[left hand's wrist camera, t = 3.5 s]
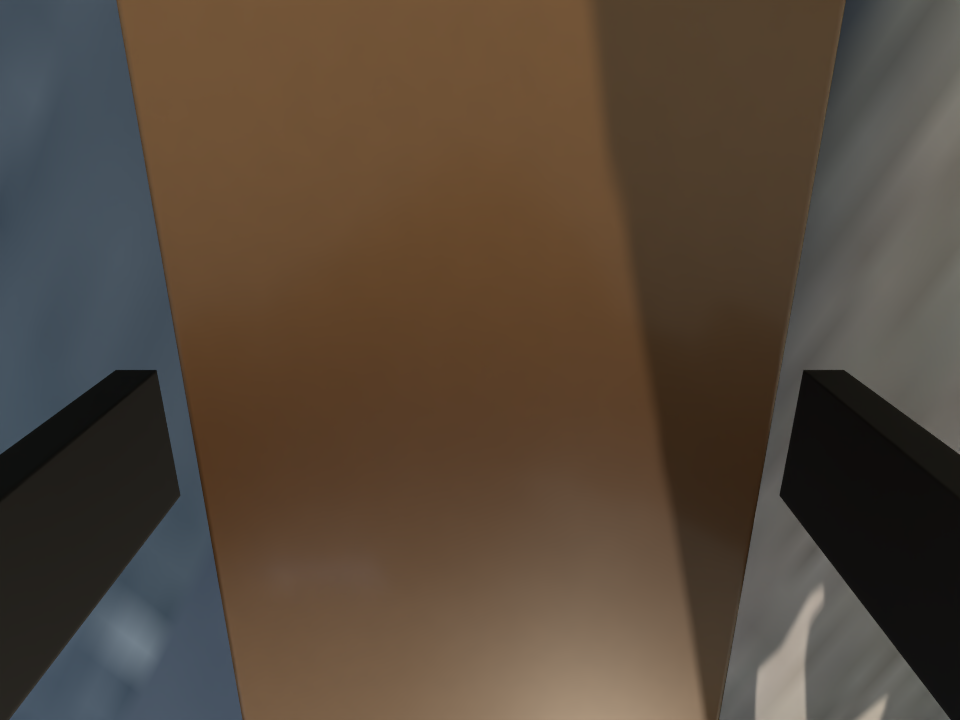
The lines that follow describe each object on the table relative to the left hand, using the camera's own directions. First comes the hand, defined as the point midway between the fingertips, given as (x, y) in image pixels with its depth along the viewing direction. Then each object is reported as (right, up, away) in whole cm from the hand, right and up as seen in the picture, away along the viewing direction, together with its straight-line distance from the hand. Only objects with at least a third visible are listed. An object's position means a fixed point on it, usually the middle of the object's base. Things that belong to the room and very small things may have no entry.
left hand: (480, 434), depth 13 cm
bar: (0, +13, -3) cm, 13 cm away
